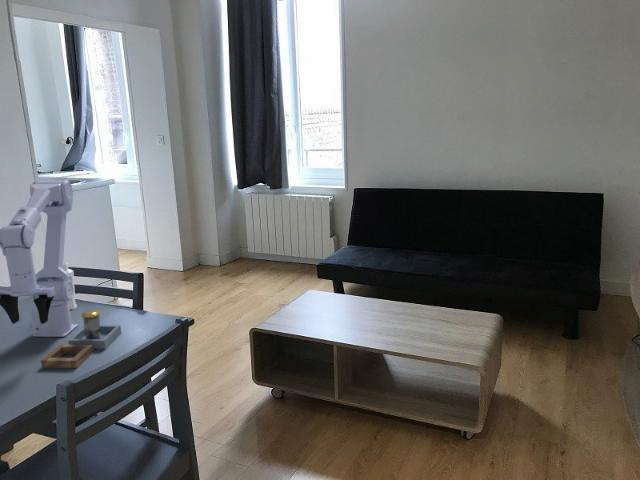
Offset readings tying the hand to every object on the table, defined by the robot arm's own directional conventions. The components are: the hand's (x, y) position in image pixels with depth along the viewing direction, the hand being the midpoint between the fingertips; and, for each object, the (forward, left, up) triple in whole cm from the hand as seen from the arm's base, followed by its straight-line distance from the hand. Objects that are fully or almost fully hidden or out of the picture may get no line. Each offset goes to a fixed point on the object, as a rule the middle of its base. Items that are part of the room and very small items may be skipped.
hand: (30, 322), depth 136 cm
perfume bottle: (-8, +33, -10) cm, 35 cm away
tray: (+12, +9, -9) cm, 18 cm away
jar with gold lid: (+12, +8, -9) cm, 17 cm away
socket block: (+10, -2, -9) cm, 14 cm away
